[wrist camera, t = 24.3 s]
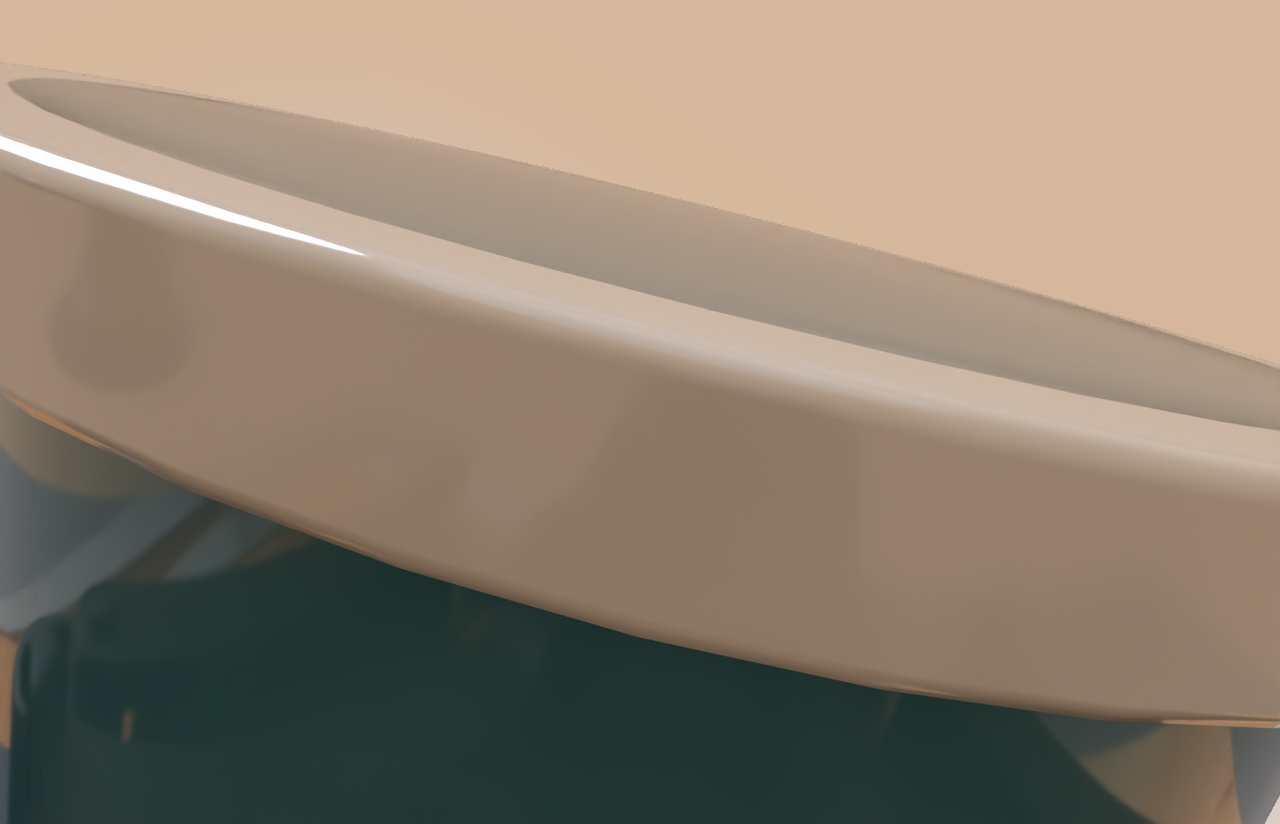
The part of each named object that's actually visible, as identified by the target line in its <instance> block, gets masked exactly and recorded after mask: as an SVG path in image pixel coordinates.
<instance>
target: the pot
mask: <svg viewBox="0 0 1280 824" xmlns="http://www.w3.org/2000/svg"><path fill="white" fill-rule="evenodd" d="M1279 796H1280V364H1277V363H1273V362H1270V361H1267V360H1264V359H1261V358H1258V357H1254V356H1251V355H1248V354H1245V353H1241V352H1238V351H1235V350H1232V349H1228V348H1225V347H1222V346H1219V345H1215V344H1212V343H1209V342H1206V341H1202V340H1199V339H1196V338H1192V337H1189V336H1186V335H1182V334H1179V333H1175V332H1172V331H1169V330H1166V329H1162V328H1159V327H1155V326H1152V325H1149V324H1145V323H1142V322H1138V321H1135V320H1131V319H1128V318H1125V317H1121V316H1118V315H1114V314H1111V313H1107V312H1104V311H1100V310H1097V309H1094V308H1090V307H1086V306H1083V305H1079V304H1076V303H1072V302H1069V301H1065V300H1062V299H1058V298H1054V297H1051V296H1048V295H1044V294H1041V293H1037V292H1033V291H1030V290H1026V289H1023V288H1019V287H1015V286H1011V285H1008V284H1004V283H1001V282H997V281H994V280H990V279H986V278H983V277H979V276H975V275H972V274H968V273H964V272H960V271H957V270H953V269H949V268H946V267H942V266H938V265H935V264H931V263H927V262H923V261H920V260H916V259H912V258H909V257H905V256H901V255H897V254H893V253H890V252H886V251H882V250H878V249H874V248H871V247H867V246H863V245H859V244H855V243H852V242H848V241H844V240H840V239H836V238H832V237H828V236H824V235H821V234H817V233H813V232H809V231H804V230H801V229H797V228H793V227H789V226H785V225H781V224H777V223H774V222H769V221H766V220H762V219H757V218H753V217H750V216H746V215H741V214H738V213H733V212H730V211H725V210H721V209H718V208H713V207H710V206H706V205H701V204H697V203H693V202H689V201H685V200H681V199H677V198H673V197H669V196H665V195H660V194H656V193H652V192H648V191H644V190H640V189H635V188H631V187H627V186H623V185H619V184H614V183H610V182H606V181H602V180H597V179H594V178H589V177H585V176H581V175H577V174H572V173H568V172H564V171H559V170H555V169H551V168H547V167H542V166H538V165H533V164H529V163H525V162H521V161H516V160H511V159H507V158H503V157H499V156H494V155H489V154H485V153H480V152H476V151H471V150H467V149H463V148H458V147H454V146H449V145H445V144H440V143H436V142H431V141H426V140H422V139H418V138H413V137H408V136H404V135H399V134H395V133H390V132H385V131H381V130H376V129H371V128H367V127H362V126H357V125H352V124H347V123H343V122H338V121H333V120H328V119H323V118H318V117H314V116H309V115H304V114H299V113H294V112H289V111H284V110H279V109H274V108H269V107H264V106H259V105H254V104H249V103H244V102H238V101H233V100H228V99H223V98H217V97H212V96H207V95H201V94H196V93H191V92H186V91H180V90H175V89H169V88H164V87H157V86H152V85H147V84H141V83H135V82H129V81H123V80H118V79H112V78H106V77H99V76H93V75H86V74H80V73H74V72H68V71H61V70H55V69H47V68H40V67H33V66H25V65H17V64H10V63H2V62H0V824H1265V822H1266V820H1267V818H1268V816H1269V814H1270V812H1271V811H1272V809H1273V807H1274V805H1275V803H1276V801H1277V799H1278V798H1279Z"/></svg>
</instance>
